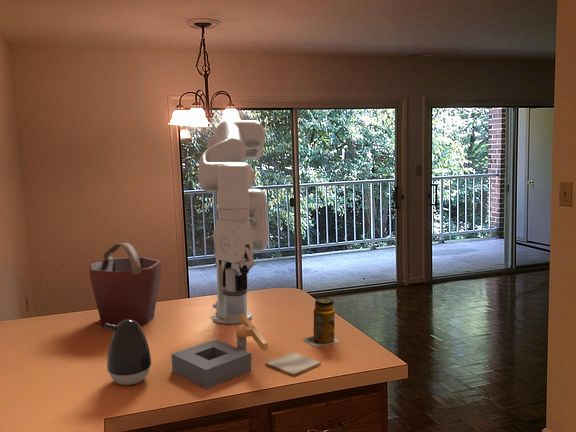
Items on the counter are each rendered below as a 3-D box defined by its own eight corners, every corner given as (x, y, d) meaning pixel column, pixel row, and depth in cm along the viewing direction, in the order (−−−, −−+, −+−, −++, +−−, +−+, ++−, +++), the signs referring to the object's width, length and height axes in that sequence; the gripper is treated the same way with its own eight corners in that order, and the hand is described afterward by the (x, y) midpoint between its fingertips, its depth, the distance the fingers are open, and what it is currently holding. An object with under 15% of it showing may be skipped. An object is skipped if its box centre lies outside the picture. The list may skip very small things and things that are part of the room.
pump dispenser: (112, 372, 132) (109, 313, 130) (155, 370, 133) (152, 312, 131) (102, 391, 122) (98, 327, 120) (147, 389, 123) (145, 326, 121)
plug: (218, 312, 132) (217, 269, 131) (236, 307, 136) (236, 265, 135) (233, 317, 128) (232, 273, 126) (252, 312, 132) (251, 269, 131)
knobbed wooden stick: (247, 353, 127) (246, 345, 127) (225, 320, 152) (225, 313, 152) (267, 351, 129) (267, 343, 129) (243, 318, 153) (243, 311, 153)
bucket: (91, 312, 180) (87, 240, 177) (157, 305, 189) (154, 236, 185) (93, 336, 158) (89, 253, 155) (168, 326, 166) (166, 248, 163)
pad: (265, 364, 137) (265, 362, 136) (292, 354, 144) (292, 351, 144) (293, 376, 130) (293, 374, 130) (320, 364, 137) (320, 362, 137)
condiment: (340, 341, 153) (341, 301, 151) (317, 347, 148) (317, 306, 147) (325, 334, 159) (325, 295, 157) (302, 340, 154) (301, 299, 153)
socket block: (172, 371, 133) (171, 347, 132) (232, 350, 147) (231, 328, 146) (206, 388, 123) (205, 362, 122) (267, 364, 137) (266, 340, 136)
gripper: (200, 213, 132) (202, 284, 135) (243, 220, 120) (244, 298, 123) (224, 210, 137) (226, 279, 140) (268, 216, 125) (269, 291, 128)
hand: (234, 287), depth 131 cm, fingers closed on plug, 4 cm apart
